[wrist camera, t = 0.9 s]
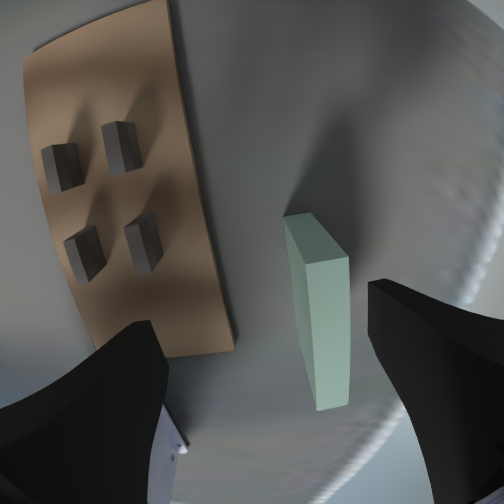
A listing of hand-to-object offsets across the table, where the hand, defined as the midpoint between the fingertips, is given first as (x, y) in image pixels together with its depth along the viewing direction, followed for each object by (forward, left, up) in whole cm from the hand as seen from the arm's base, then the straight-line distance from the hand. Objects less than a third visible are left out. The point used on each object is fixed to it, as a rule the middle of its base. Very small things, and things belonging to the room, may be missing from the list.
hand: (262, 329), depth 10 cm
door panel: (-3, -3, -9) cm, 10 cm away
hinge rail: (+4, +7, -9) cm, 12 cm away
